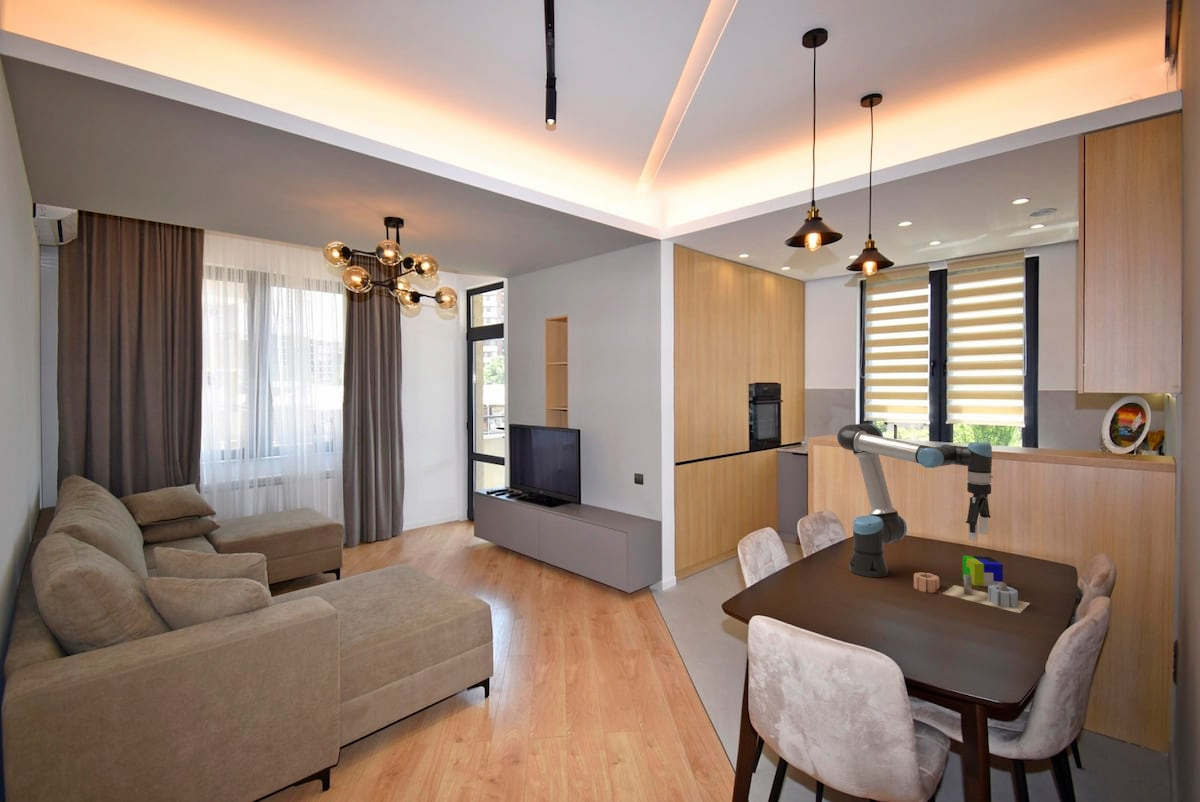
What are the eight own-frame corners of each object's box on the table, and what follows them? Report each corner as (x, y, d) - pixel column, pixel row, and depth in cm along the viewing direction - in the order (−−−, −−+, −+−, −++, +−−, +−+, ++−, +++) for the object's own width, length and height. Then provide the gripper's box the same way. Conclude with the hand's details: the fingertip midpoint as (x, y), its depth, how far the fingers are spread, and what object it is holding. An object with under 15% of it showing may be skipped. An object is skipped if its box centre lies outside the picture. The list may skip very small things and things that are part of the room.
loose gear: (910, 588, 214) (910, 575, 214) (919, 583, 219) (919, 570, 219) (934, 594, 207) (934, 581, 207) (942, 588, 213) (942, 576, 213)
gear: (990, 604, 194) (990, 591, 194) (986, 596, 201) (986, 583, 201) (1019, 608, 190) (1019, 594, 190) (1014, 600, 197) (1014, 587, 197)
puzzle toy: (1002, 590, 211) (1002, 564, 210) (974, 588, 213) (974, 563, 212) (989, 581, 220) (989, 556, 220) (962, 579, 222) (962, 555, 222)
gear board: (942, 596, 205) (942, 575, 205) (954, 588, 213) (954, 567, 213) (1019, 616, 186) (1019, 593, 186) (1029, 606, 195) (1029, 584, 194)
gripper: (981, 488, 196) (980, 546, 197) (999, 479, 212) (998, 533, 213) (957, 485, 202) (956, 541, 202) (977, 477, 218) (976, 529, 219)
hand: (978, 537), depth 208 cm, fingers open, 13 cm apart
